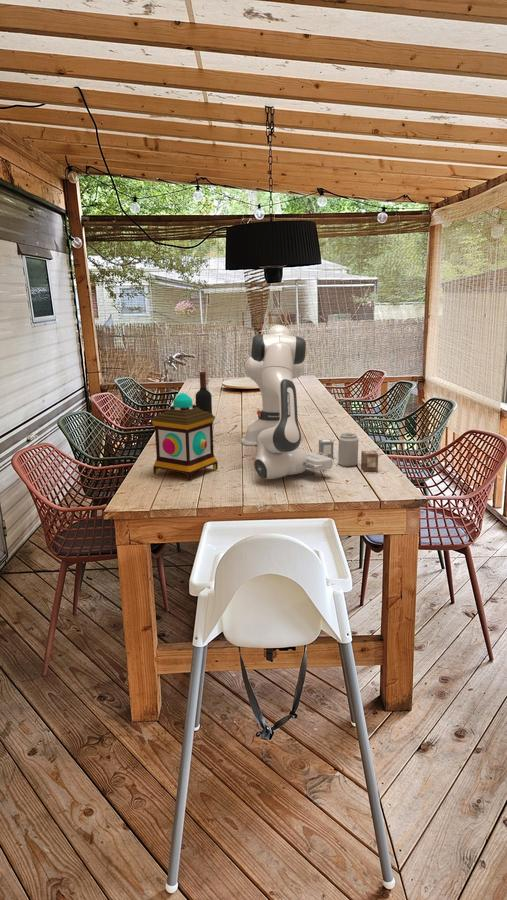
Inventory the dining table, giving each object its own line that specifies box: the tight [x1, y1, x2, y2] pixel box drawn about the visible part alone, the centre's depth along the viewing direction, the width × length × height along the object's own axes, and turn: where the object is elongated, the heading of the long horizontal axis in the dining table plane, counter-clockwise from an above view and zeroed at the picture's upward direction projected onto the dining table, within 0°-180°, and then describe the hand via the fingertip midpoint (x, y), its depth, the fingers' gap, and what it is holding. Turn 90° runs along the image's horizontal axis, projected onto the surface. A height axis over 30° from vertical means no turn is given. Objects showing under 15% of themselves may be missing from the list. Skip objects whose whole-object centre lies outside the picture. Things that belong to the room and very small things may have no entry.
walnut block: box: [360, 450, 379, 474], centre depth 216 cm, size 5×5×7 cm
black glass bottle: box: [203, 365, 221, 425], centre depth 304 cm, size 13×13×30 cm
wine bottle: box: [195, 371, 213, 414], centre depth 275 cm, size 8×8×30 cm
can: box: [337, 432, 359, 468], centre depth 223 cm, size 8×8×12 cm
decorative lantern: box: [151, 392, 219, 482], centre depth 215 cm, size 20×20×30 cm
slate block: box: [318, 438, 334, 460], centre depth 234 cm, size 5×5×7 cm
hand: (325, 455), depth 218 cm, fingers closed
